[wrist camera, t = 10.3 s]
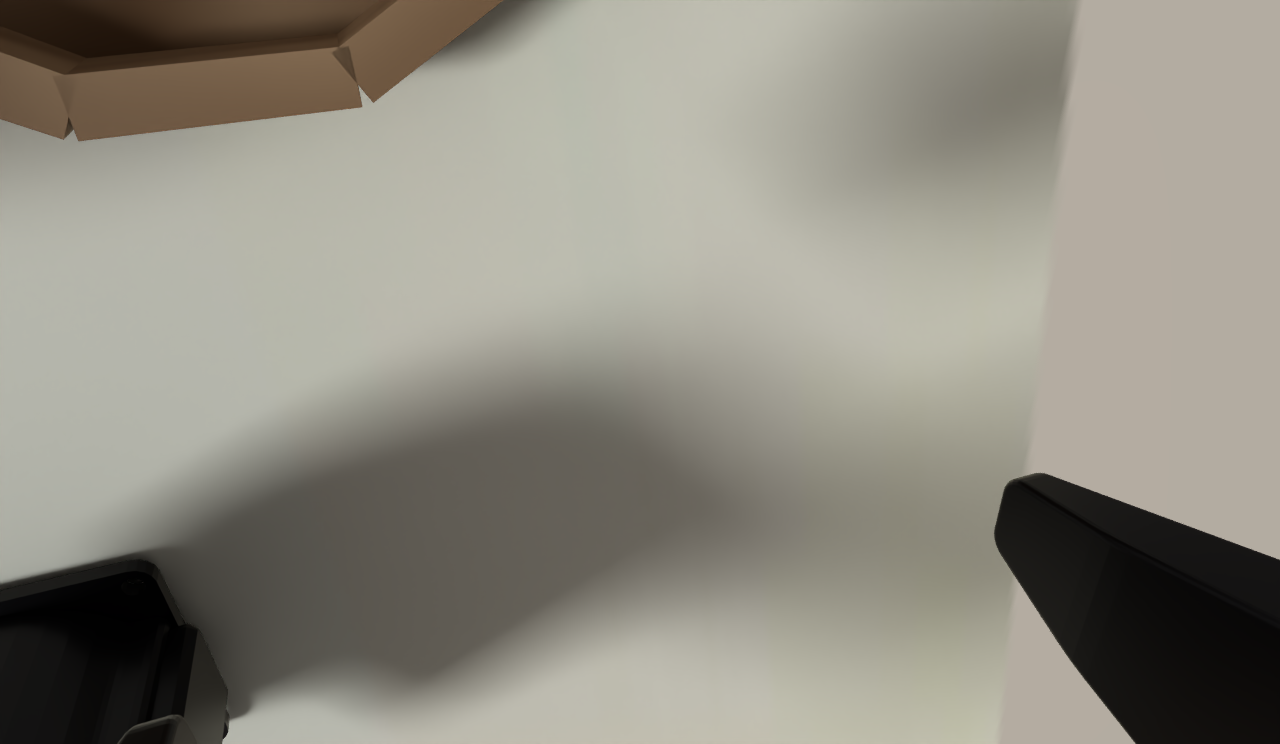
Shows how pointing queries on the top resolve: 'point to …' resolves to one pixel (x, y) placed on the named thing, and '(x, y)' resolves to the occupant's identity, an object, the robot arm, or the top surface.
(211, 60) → the tray
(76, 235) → the top surface
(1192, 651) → the robot arm
